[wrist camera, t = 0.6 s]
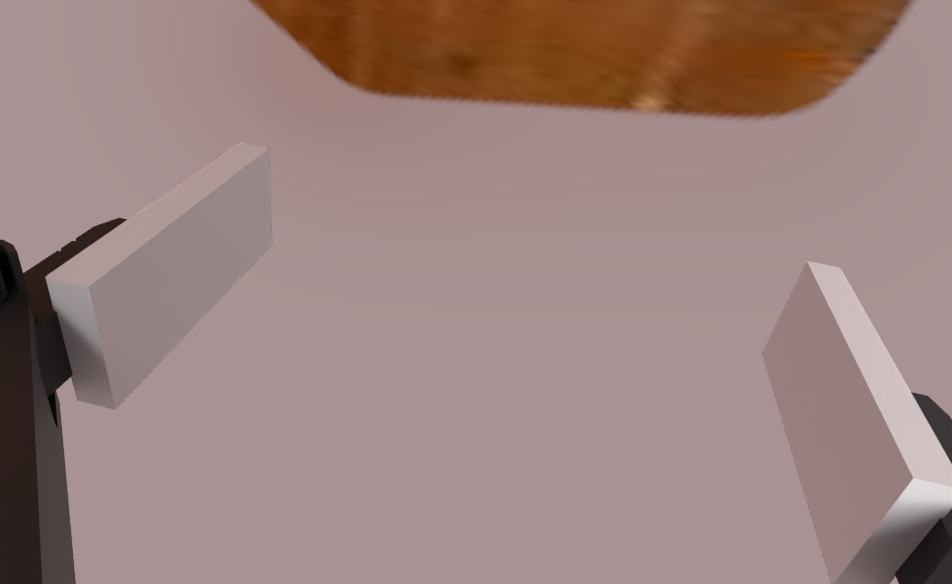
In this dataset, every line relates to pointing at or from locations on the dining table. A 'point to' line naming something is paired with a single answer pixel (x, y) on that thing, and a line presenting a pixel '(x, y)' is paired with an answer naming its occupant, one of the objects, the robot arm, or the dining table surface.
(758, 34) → the dining table surface
